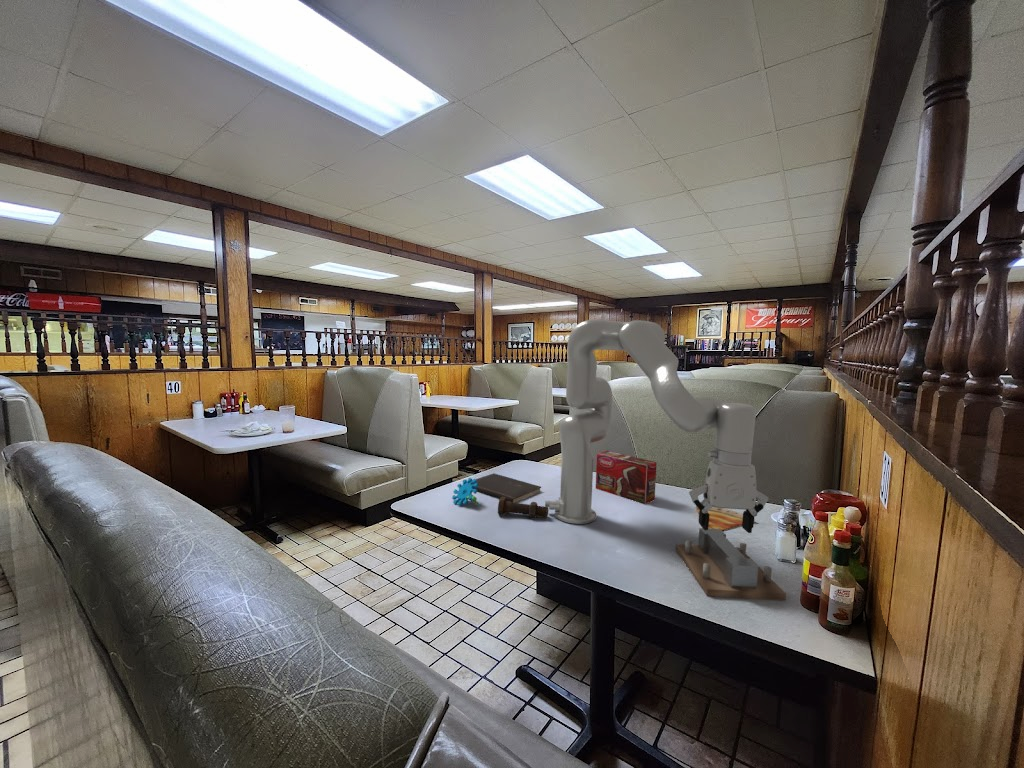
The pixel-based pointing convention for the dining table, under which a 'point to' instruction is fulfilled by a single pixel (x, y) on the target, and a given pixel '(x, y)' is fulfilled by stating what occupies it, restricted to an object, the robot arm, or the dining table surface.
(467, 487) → the gear
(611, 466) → the ice cream box
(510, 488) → the hardcover book
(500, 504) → the bolt
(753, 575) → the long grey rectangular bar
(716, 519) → the pizza slice
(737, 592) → the peg rack
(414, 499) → the dining table surface
